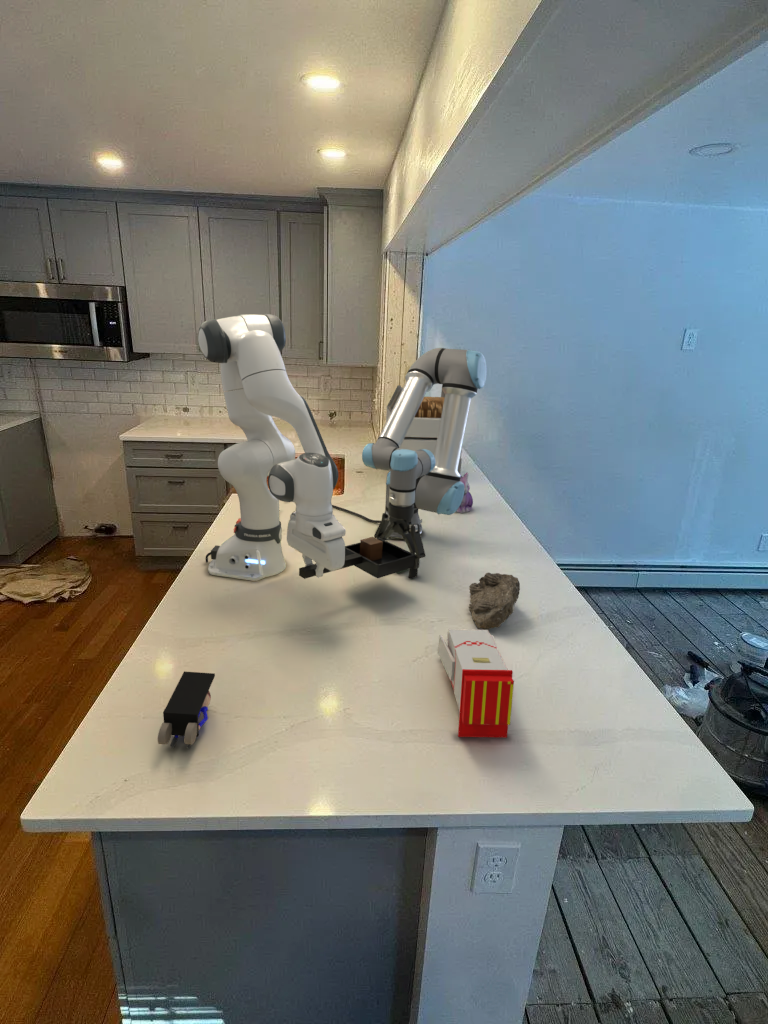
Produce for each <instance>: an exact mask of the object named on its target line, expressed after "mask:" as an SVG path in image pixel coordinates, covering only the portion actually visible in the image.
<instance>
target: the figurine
mask: <svg viewBox="0 0 768 1024" xmlns="http://www.w3.org/2000/svg"><path fill="white" fill-rule="evenodd" d="M459 474H460V473H459ZM460 476H461V479H460V482H462V483H463V484H464V486H465V488H464V490H465V491H464V496H463V499H462V502H461V504H460V506H459V508H458V509H457V511H456V512H455V513H462V514H463V513H468V512H470V511H471V510H472V509H473V505H474V499H473V496H472V494H471V492H470V489H471V487H470V484H469V482H468V479H469V473H468V472H465V473H464V474H463V476H462V474H460Z"/></svg>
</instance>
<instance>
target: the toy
mask: <svg viewBox="0 0 768 1024" xmlns="http://www.w3.org/2000/svg"><path fill="white" fill-rule="evenodd" d="M446 640H447V643H446V641H445V639H444V636H443V635H442V634H439V637H438V646H437V656H438V657H439V659H440V661H441V663H442V666H443V668H444V670H445V672H446V674H447V677H448V679H449V681H450V684H451V687H452V690H453V693H454V697H455V701H456V705H457V708H458V711H459V714H458V715H459V716H458V730H457V731H458V732H457V737H458V738H508V731H509V726H510V725H511V717H512V707H513V697H514V696H513V695H514V684H515V680H514V679H513V673H514V671H513V670H512V669H508V667H507V665H506V662H505V661H504V659H503V658H502V655H501V653H500V651H499V649H498V647H497V643H496V639H495V637H494V635H493V634H491V632H490V631H489V629H487V630H483V629H467V628H466V629H465V628H463V629H461V628H460V629H459V628H448V630H447V639H446Z"/></svg>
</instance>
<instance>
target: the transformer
mask: <svg viewBox="0 0 768 1024" xmlns="http://www.w3.org/2000/svg"><path fill="white" fill-rule="evenodd" d="M402 389H403V387H402V385H399V384H398V385H397V386H396V388H395V390H394V392H393V394H392V395H391V398H390V400H389V402H388V404H387V405H386V413H385V414H386V415H385V422H386V421H387V419H388V417H389V415H390V413H391V411H392V409H393V407H394V405H395V403H396V401H397V399H398V397H399V395H400V393H401V391H402ZM440 393H441V394H440V396H424V398H423V400H422V402H421V404H420V406H419V409H418V411H417V413H416V415H415V417H414V419H413V421H412V423H411V425H410V427H409V429H408V431H407V433H406V436H405V438H404V440H403V442H402V444H401V446H400V448H401V449H407V450H413V451H418V450H420V449H421V450H422V449H426V450H429V451H430V452H432V453H433V455H434V453H435V447H436V442H437V437H438V431H439V426H440V420H441V415H442V410H443V404H444V399H445V393H444V392H443V390H442V389H441V392H440ZM462 453H463V448H462V449H461V454H460V460H459V465H458V473H460V475H462V474H461V472H462V461H463V460H462Z"/></svg>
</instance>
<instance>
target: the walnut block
mask: <svg viewBox="0 0 768 1024" xmlns="http://www.w3.org/2000/svg"><path fill="white" fill-rule="evenodd" d="M359 543H360V555H362V556H363V557H365V558H367V559H369V560H371V561H374V560H378V559H381V558H382V547H383V541H380V540H378V539H376V538H375V537H374V536H371V537H366V538H363V539H362V538H361V539H360V542H359Z"/></svg>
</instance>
